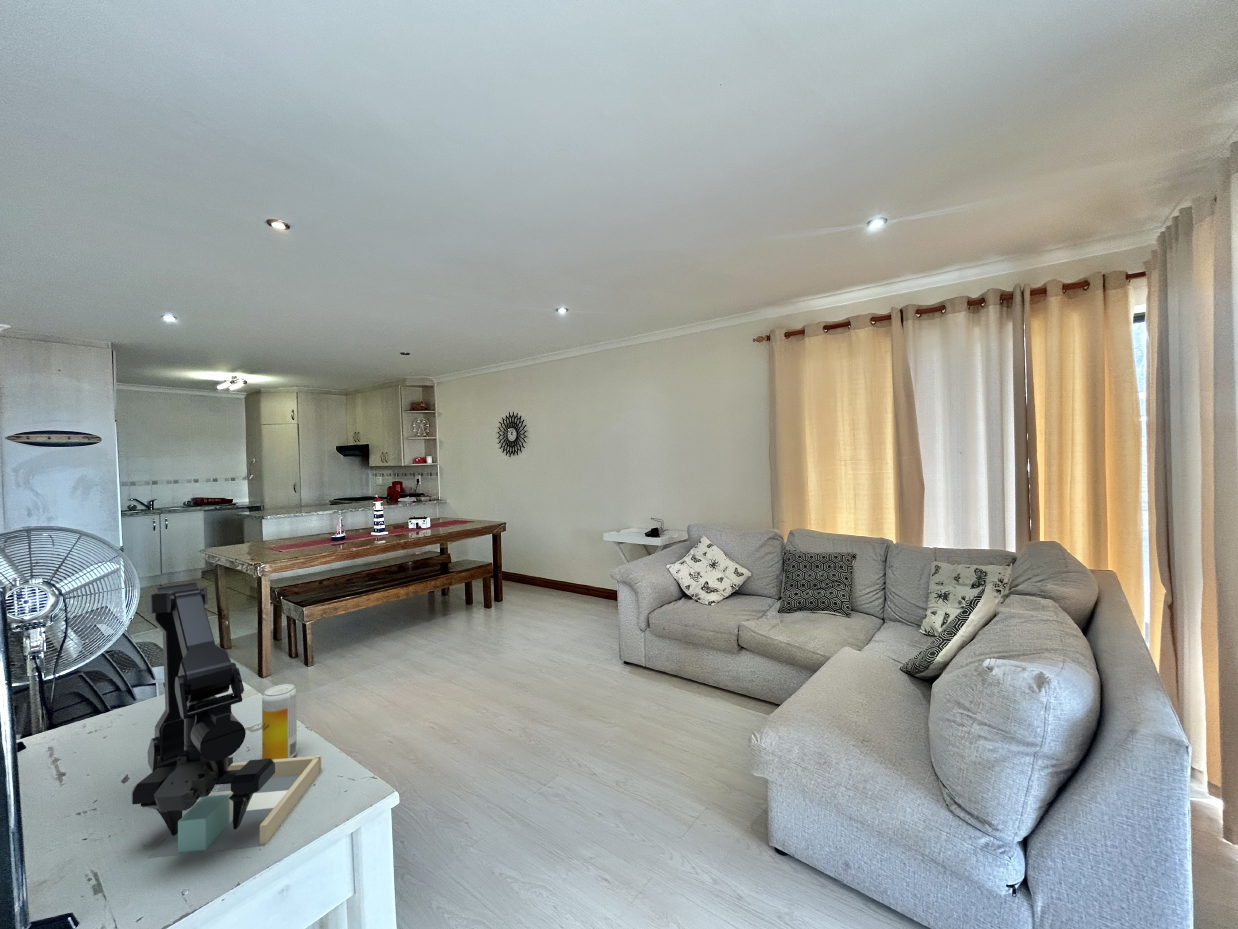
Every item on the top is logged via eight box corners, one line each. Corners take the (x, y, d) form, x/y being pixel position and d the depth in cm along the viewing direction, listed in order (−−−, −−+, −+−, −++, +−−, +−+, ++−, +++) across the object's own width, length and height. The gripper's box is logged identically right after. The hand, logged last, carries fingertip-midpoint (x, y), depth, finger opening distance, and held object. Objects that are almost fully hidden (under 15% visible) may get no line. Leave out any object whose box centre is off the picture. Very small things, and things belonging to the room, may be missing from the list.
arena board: (147, 861, 79) (147, 838, 79) (229, 781, 99) (229, 763, 99) (264, 849, 81) (264, 827, 81) (321, 773, 101) (321, 755, 101)
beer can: (273, 752, 109) (273, 683, 109) (302, 751, 110) (302, 682, 110) (255, 769, 103) (255, 696, 103) (286, 767, 104) (286, 695, 104)
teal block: (177, 852, 80) (177, 821, 80) (207, 821, 87) (207, 792, 87) (205, 849, 80) (205, 818, 80) (233, 819, 87) (232, 790, 87)
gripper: (100, 771, 74) (100, 876, 74) (238, 760, 77) (238, 861, 77) (158, 732, 85) (158, 824, 85) (276, 724, 88) (276, 812, 88)
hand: (206, 831), depth 84 cm, fingers open, 9 cm apart
